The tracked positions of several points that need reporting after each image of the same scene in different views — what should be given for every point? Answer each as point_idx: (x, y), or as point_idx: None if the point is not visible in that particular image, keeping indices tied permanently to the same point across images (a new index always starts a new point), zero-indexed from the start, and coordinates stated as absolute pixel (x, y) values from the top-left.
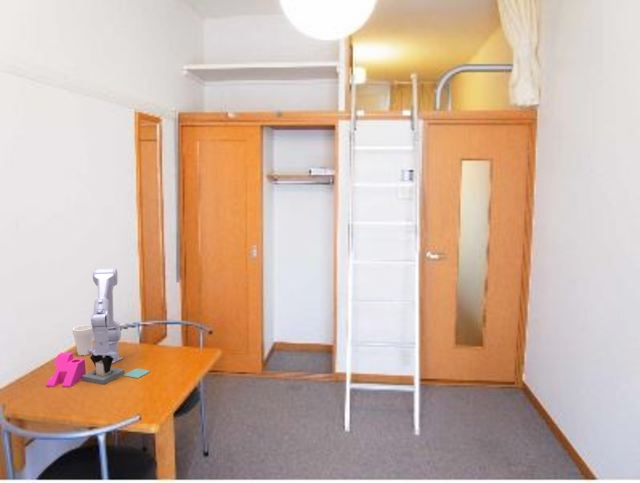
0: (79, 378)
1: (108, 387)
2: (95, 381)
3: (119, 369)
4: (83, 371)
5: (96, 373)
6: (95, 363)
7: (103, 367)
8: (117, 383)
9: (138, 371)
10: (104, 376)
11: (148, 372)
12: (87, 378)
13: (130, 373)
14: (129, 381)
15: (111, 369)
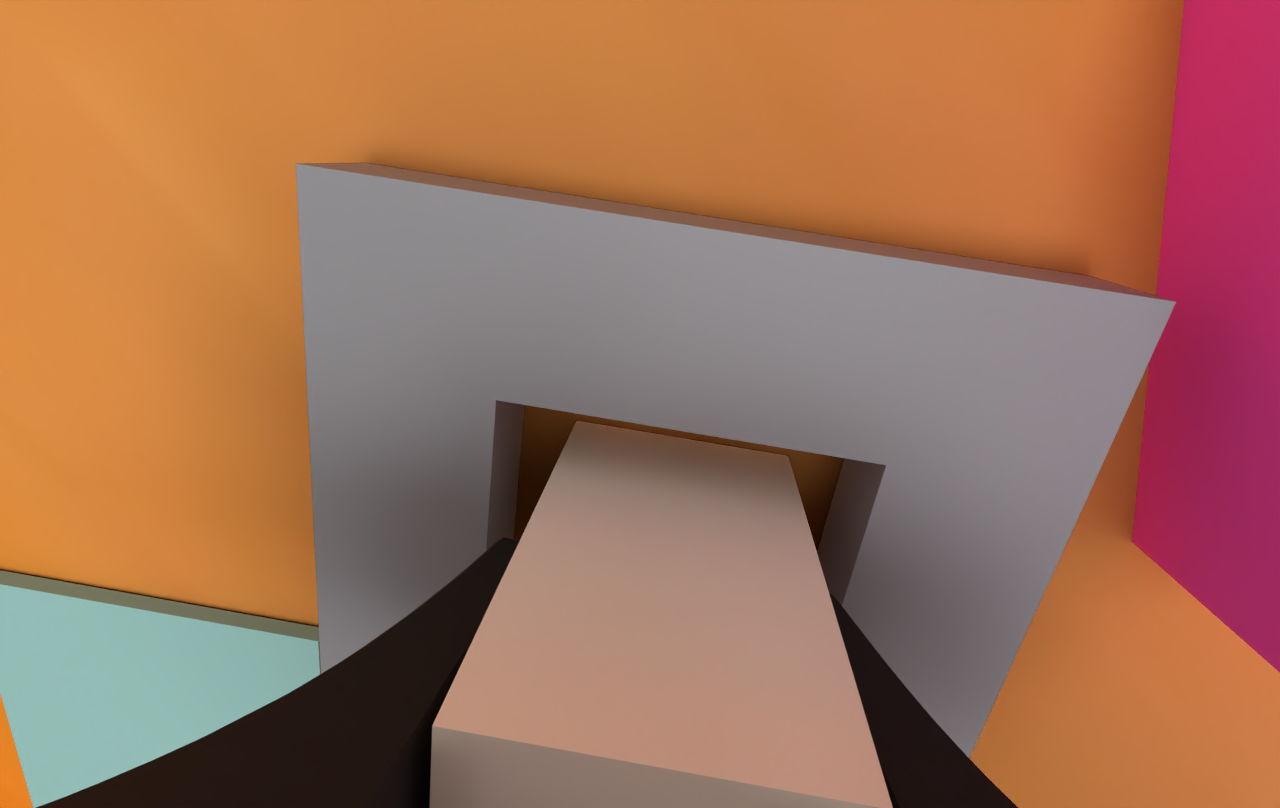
0: (1196, 281)
1: (136, 49)
2: (615, 205)
3: None
4: (1257, 540)
5: (795, 515)
6: (901, 784)
7: (488, 624)
8: (142, 306)
9: None
10: (464, 402)
11: (31, 781)
12: (913, 256)
13: None
14: (15, 441)
15: None
